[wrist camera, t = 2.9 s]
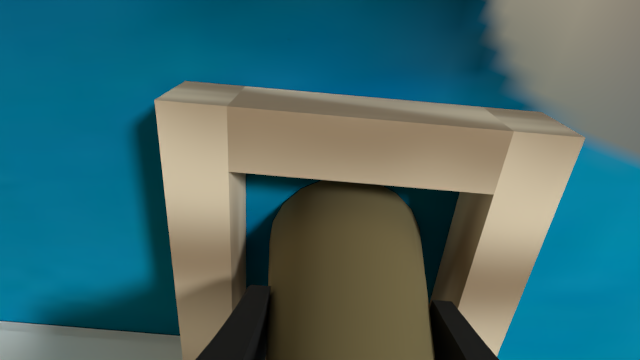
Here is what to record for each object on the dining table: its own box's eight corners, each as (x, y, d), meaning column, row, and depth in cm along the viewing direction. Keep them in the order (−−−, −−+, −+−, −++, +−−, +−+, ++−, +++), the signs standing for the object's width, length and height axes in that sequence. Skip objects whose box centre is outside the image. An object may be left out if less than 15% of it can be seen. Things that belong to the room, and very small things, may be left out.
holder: (457, 359, 18) (474, 410, 16) (203, 338, 18) (185, 386, 16) (541, 112, 13) (585, 137, 11) (185, 80, 13) (154, 99, 11)
